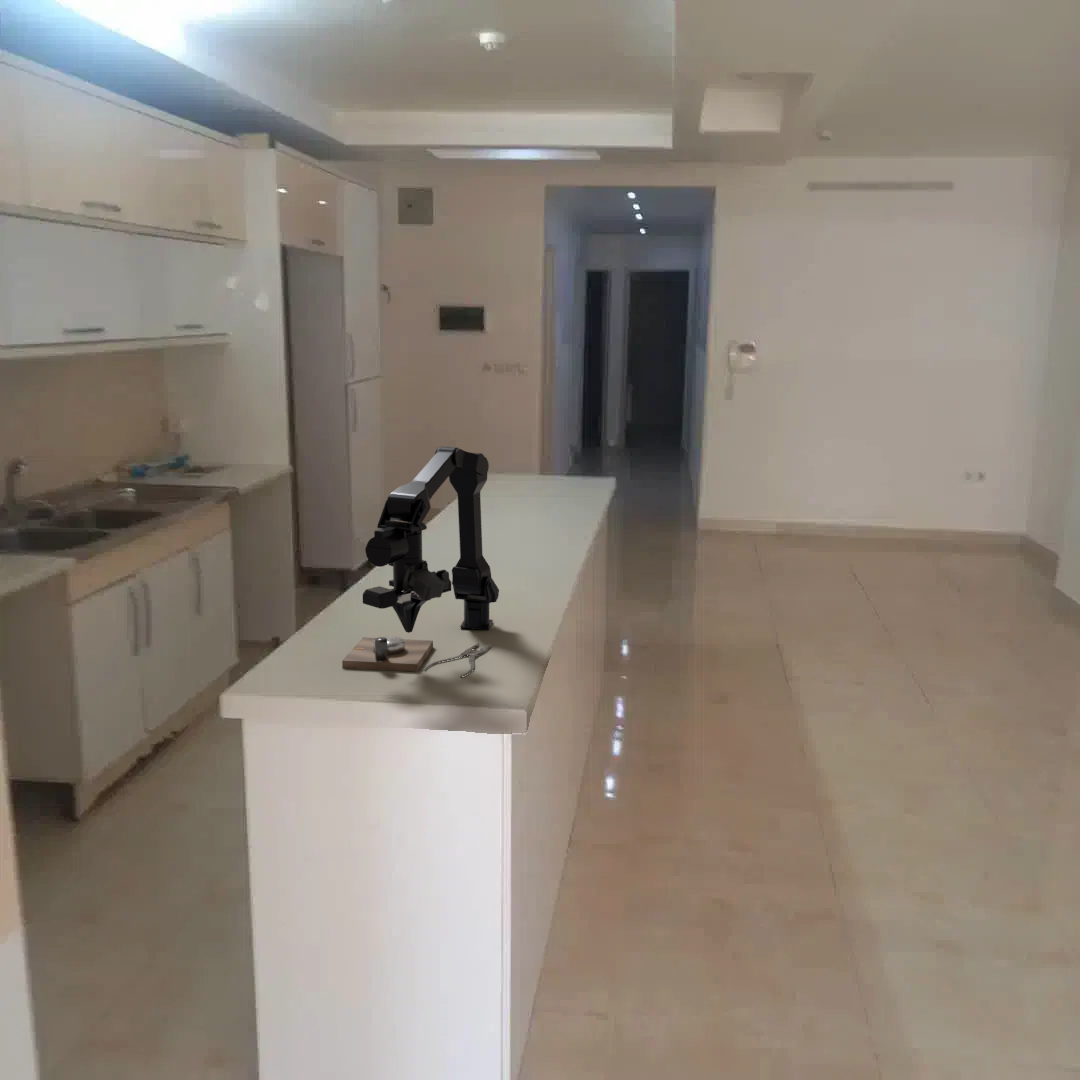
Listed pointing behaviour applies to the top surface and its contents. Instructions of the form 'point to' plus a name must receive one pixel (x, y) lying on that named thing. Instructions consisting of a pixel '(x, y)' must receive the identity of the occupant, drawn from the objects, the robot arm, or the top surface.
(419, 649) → the dial plate
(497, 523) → the top surface
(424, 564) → the robot arm
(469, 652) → the pliers
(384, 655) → the crank handle
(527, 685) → the top surface
